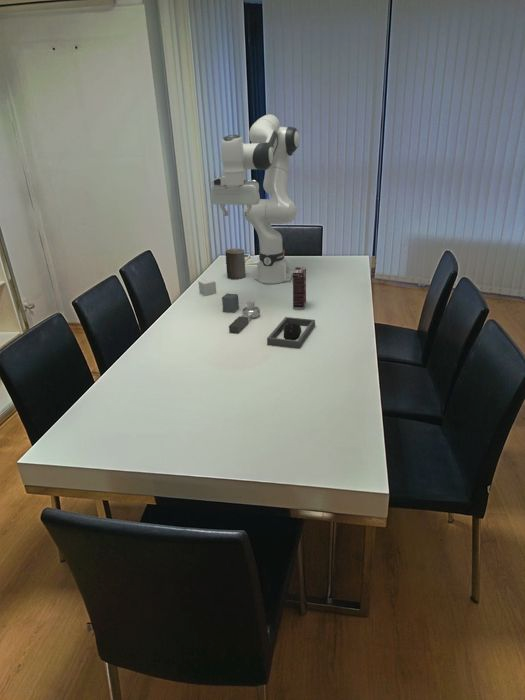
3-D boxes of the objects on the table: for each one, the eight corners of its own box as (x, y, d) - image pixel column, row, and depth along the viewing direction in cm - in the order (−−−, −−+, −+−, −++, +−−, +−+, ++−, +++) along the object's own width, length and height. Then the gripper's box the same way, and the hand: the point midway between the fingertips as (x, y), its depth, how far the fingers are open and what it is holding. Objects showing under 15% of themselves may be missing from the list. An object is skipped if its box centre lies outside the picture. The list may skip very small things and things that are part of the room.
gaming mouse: (281, 344, 175) (280, 334, 174) (285, 328, 189) (285, 318, 187) (298, 344, 174) (298, 334, 173) (301, 328, 188) (301, 318, 186)
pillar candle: (224, 279, 248) (222, 250, 242) (230, 273, 257) (229, 245, 250) (242, 280, 246) (240, 251, 239) (248, 274, 254) (246, 246, 247)
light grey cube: (216, 293, 229) (215, 281, 226) (205, 296, 226) (203, 284, 223) (210, 290, 233) (209, 278, 231) (199, 293, 231) (198, 281, 228)
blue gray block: (228, 307, 211) (226, 293, 208) (239, 308, 209) (238, 294, 206) (223, 311, 207) (221, 297, 204) (234, 312, 205) (233, 298, 202)
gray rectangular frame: (285, 322, 192) (285, 316, 191) (315, 325, 188) (315, 319, 187) (267, 344, 175) (266, 338, 174) (299, 348, 171) (299, 341, 170)
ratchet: (246, 312, 205) (246, 298, 202) (262, 313, 203) (261, 300, 200) (225, 332, 187) (224, 317, 184) (242, 334, 185) (241, 319, 182)
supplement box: (304, 309, 204) (303, 273, 198) (292, 309, 205) (292, 273, 199) (306, 302, 212) (306, 267, 205) (295, 302, 213) (295, 267, 206)
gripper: (261, 179, 191) (263, 215, 197) (214, 179, 198) (217, 214, 203) (255, 180, 185) (257, 217, 191) (207, 181, 192) (210, 216, 198)
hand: (236, 215), depth 197 cm, fingers open, 8 cm apart
